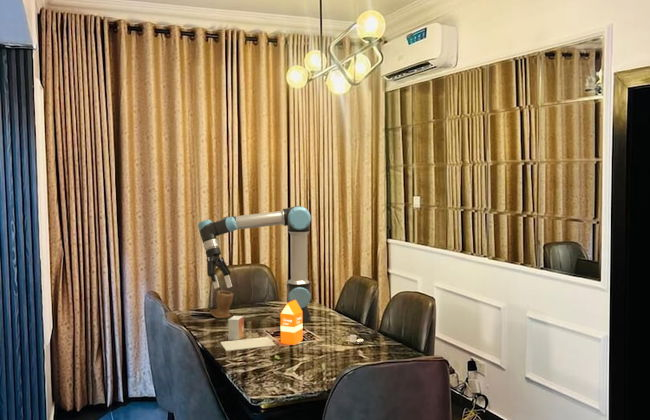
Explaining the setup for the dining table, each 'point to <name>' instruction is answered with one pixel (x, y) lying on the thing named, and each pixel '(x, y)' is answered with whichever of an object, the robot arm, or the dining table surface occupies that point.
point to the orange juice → (291, 323)
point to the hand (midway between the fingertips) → (223, 287)
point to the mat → (247, 344)
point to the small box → (236, 327)
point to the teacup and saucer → (354, 339)
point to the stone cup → (222, 304)
